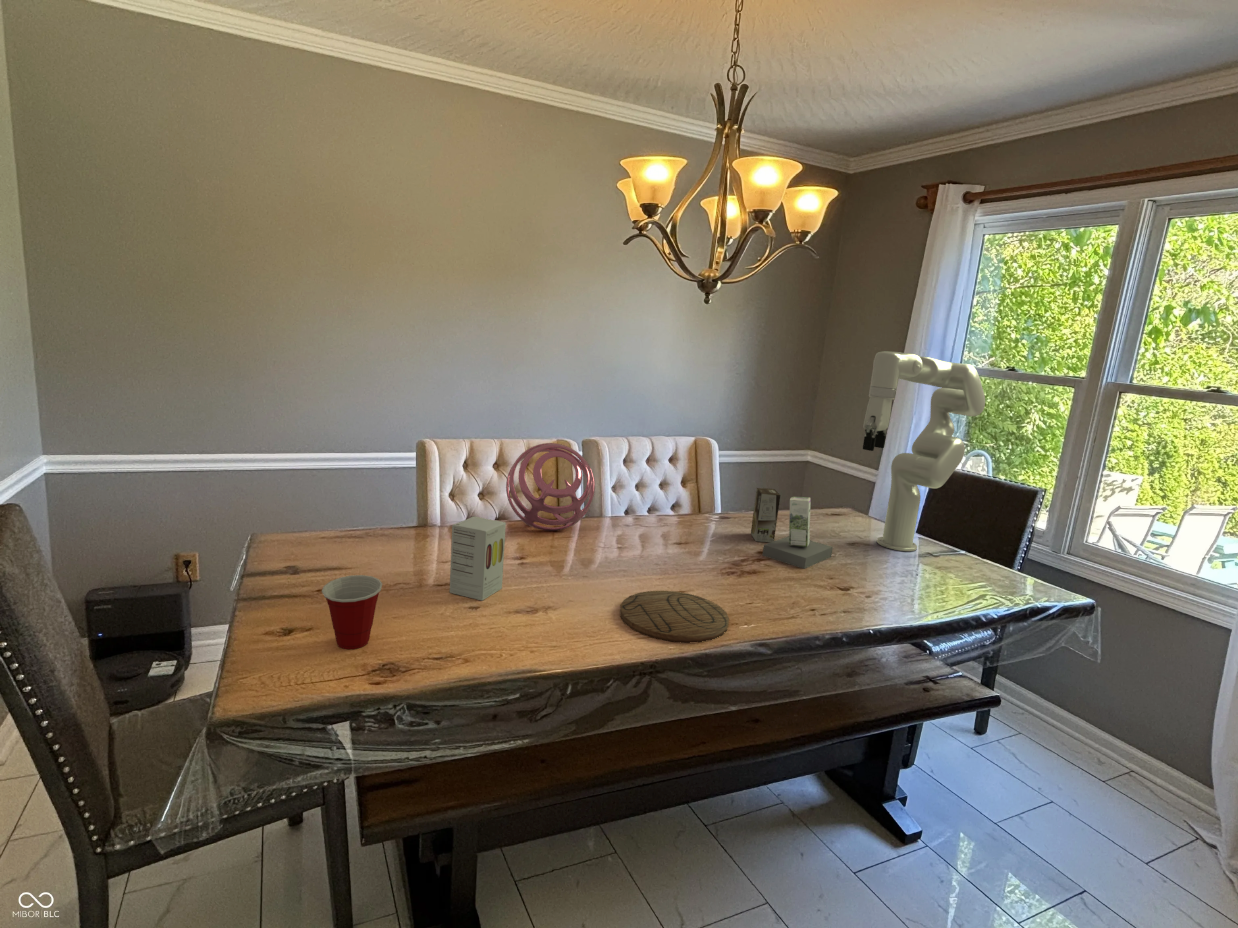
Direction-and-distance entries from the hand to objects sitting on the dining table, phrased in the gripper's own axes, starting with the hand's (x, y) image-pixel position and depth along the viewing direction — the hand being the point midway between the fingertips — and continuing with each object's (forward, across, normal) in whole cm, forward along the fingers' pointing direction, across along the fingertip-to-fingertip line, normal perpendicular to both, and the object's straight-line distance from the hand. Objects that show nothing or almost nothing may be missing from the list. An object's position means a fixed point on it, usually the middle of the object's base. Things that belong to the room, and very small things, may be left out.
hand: (873, 448), depth 210 cm
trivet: (+35, +86, -12) cm, 94 cm away
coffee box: (+34, +10, -28) cm, 46 cm away
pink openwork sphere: (+34, +60, -78) cm, 104 cm away
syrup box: (+31, +18, -12) cm, 38 cm away
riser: (+35, +18, -12) cm, 41 cm away
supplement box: (+34, +110, -53) cm, 127 cm away
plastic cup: (+34, +145, -48) cm, 157 cm away
